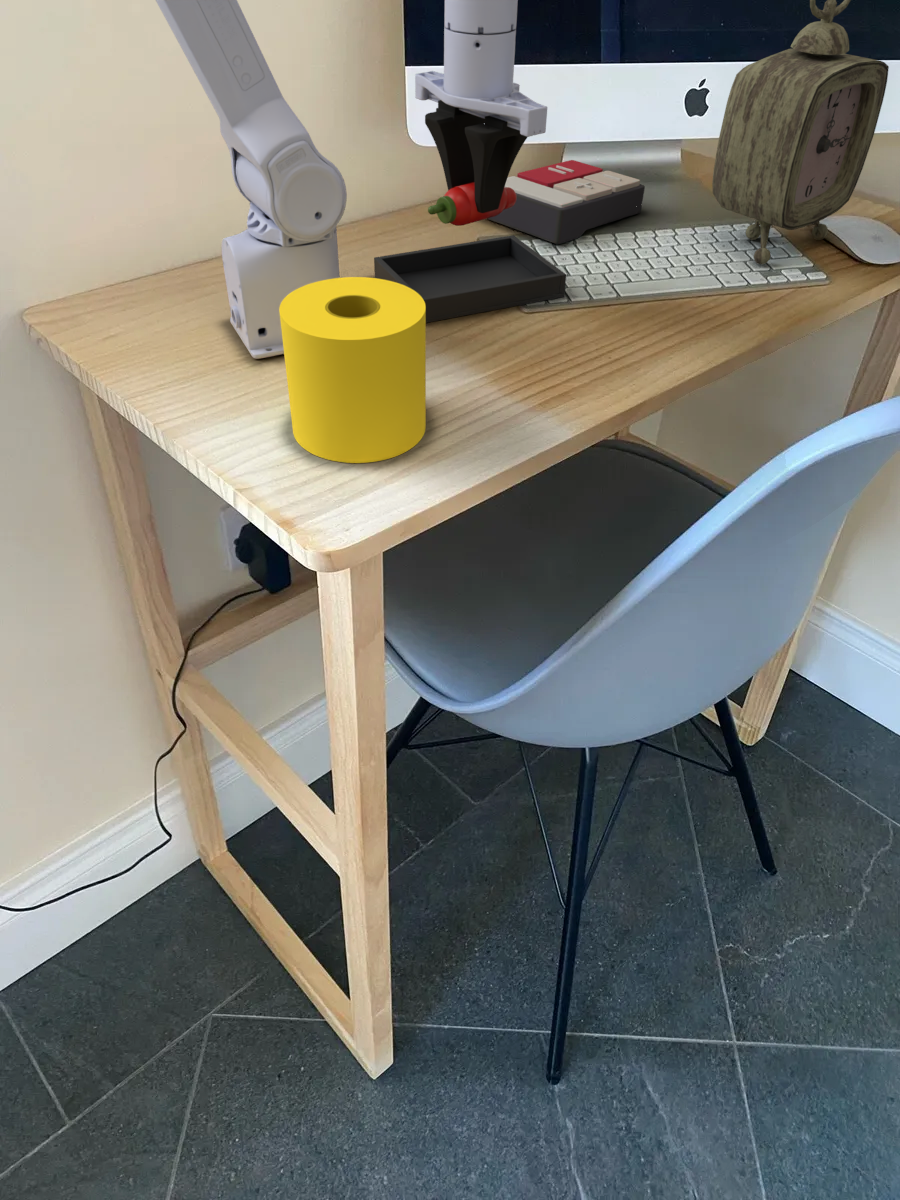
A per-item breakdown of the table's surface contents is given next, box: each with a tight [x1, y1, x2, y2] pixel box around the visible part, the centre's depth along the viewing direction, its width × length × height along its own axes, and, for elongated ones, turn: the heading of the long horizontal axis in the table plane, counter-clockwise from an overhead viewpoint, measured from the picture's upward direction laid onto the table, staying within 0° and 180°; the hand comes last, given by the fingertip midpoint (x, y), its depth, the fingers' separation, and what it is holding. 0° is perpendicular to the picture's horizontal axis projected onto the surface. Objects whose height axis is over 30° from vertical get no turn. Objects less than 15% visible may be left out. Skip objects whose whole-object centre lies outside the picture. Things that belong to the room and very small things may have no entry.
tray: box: [373, 234, 567, 323], centre depth 87 cm, size 15×11×2 cm
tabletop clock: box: [711, 0, 890, 265], centre depth 89 cm, size 14×9×25 cm, turn 131°
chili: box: [427, 182, 516, 227], centre depth 81 cm, size 10×3×3 cm, turn 130°
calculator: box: [486, 159, 646, 245], centre depth 102 cm, size 11×4×15 cm
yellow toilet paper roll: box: [279, 276, 427, 464], centre depth 66 cm, size 10×10×9 cm
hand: (474, 204), depth 81 cm, fingers closed on chili, 3 cm apart
